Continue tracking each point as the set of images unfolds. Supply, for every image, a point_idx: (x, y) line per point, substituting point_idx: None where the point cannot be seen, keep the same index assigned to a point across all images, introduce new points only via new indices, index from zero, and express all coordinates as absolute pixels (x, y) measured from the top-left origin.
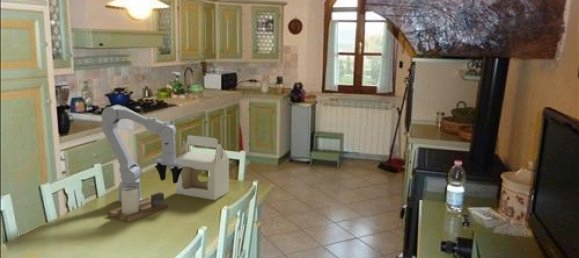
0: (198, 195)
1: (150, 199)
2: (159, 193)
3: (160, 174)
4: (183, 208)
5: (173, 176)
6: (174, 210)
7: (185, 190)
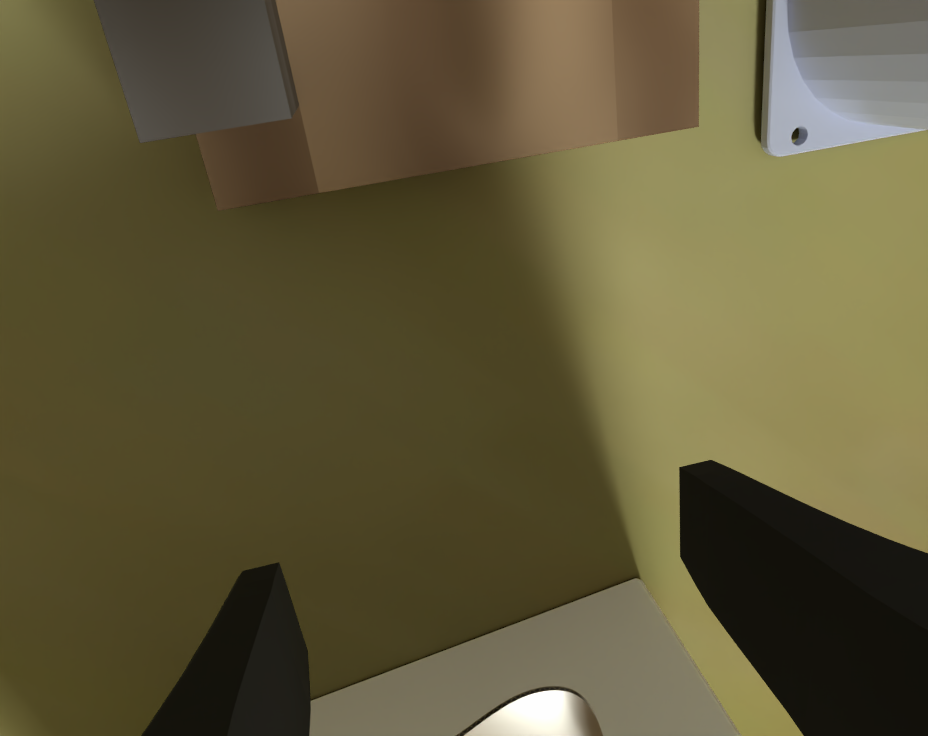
0: (321, 715)
1: (590, 104)
2: (195, 43)
3: (796, 541)
4: (37, 358)
5: (182, 727)
6: (33, 205)
7: (518, 673)
